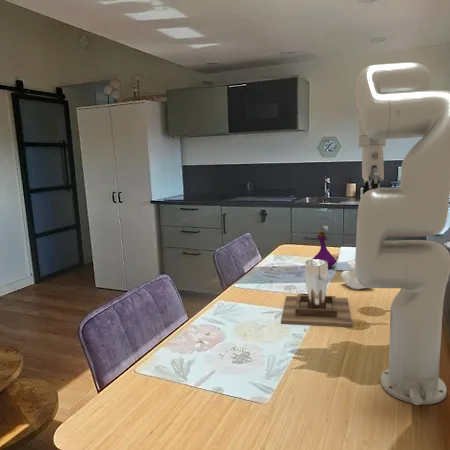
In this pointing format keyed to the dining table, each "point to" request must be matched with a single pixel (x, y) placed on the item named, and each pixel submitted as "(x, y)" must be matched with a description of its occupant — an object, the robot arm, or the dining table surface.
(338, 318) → the walnut stand
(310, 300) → the white piece
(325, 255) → the perfume bottle
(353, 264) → the bust
